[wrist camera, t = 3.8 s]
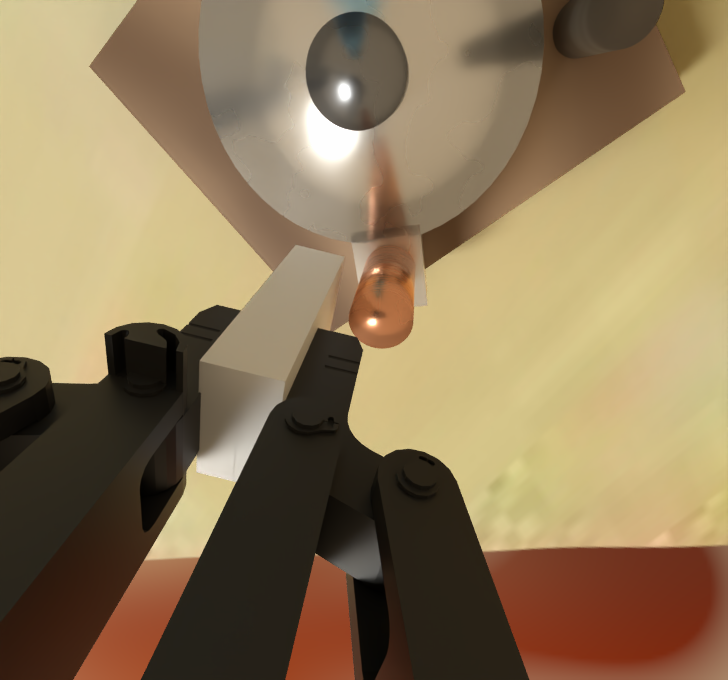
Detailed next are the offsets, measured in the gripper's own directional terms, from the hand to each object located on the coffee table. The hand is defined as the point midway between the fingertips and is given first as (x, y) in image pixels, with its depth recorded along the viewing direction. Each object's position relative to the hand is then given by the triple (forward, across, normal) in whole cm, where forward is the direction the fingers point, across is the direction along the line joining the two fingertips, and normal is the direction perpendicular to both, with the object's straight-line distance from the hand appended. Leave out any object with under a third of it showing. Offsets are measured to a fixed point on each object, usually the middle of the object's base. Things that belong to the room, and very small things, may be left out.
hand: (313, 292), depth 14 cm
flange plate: (+4, -1, -5) cm, 6 cm away
